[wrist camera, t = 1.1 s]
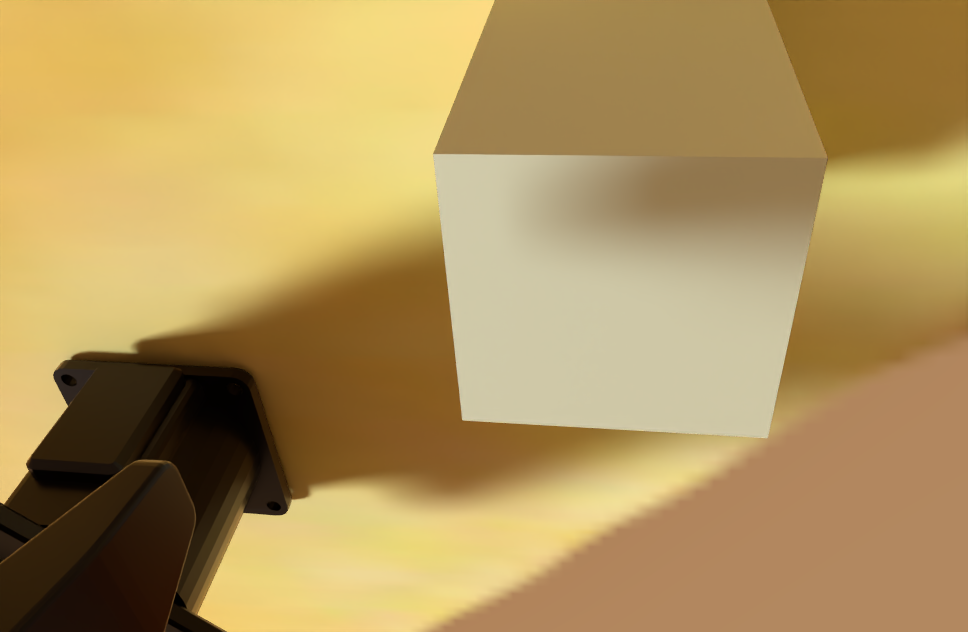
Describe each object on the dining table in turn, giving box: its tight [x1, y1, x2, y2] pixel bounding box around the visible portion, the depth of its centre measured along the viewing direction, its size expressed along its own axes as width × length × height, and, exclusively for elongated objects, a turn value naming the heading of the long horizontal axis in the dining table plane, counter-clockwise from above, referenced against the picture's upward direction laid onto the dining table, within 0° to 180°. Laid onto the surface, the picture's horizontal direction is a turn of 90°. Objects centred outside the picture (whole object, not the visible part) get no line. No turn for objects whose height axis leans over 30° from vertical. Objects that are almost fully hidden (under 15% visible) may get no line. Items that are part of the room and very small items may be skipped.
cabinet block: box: [433, 0, 828, 438], centre depth 16 cm, size 6×5×8 cm
